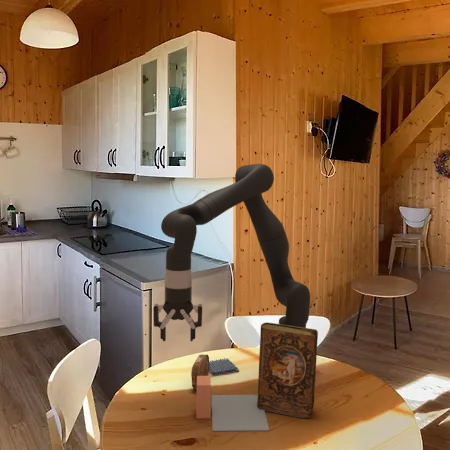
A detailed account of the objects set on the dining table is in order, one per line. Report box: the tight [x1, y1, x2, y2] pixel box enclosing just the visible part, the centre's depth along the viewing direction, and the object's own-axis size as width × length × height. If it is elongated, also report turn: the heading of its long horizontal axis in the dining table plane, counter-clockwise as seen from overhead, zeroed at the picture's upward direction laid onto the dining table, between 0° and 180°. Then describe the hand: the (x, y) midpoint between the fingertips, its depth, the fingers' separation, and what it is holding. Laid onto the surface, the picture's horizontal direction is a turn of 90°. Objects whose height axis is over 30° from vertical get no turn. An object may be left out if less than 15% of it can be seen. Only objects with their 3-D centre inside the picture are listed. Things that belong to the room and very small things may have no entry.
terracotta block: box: [195, 375, 212, 419], centre depth 141 cm, size 4×6×10 cm, turn 3°
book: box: [257, 322, 319, 419], centre depth 142 cm, size 16×6×25 cm, turn 71°
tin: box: [190, 353, 210, 390], centre depth 160 cm, size 15×3×8 cm, turn 168°
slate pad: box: [211, 394, 270, 432], centre depth 142 cm, size 16×20×1 cm
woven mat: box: [209, 357, 240, 377], centre depth 171 cm, size 10×11×2 cm
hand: (177, 340), depth 138 cm, fingers open, 7 cm apart
